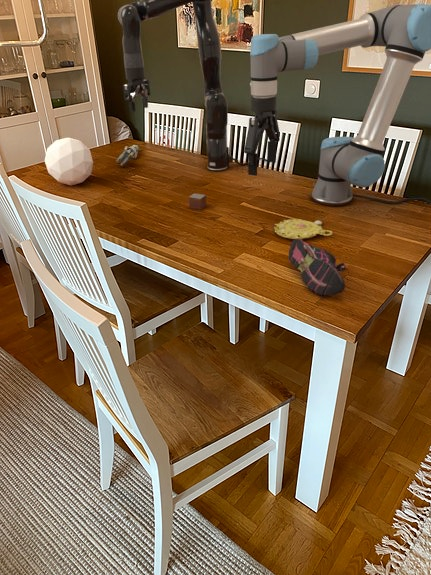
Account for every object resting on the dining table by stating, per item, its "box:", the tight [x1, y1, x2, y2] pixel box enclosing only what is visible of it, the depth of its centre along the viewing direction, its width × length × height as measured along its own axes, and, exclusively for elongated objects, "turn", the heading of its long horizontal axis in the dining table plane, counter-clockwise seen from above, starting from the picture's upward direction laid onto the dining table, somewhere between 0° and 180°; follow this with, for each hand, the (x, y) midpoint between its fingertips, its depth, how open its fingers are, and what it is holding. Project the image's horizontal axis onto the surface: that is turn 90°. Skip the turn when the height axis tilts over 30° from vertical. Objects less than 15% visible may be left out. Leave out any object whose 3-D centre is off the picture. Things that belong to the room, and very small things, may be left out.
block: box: [188, 193, 207, 211], centre depth 166 cm, size 4×5×4 cm
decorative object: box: [273, 218, 333, 241], centre depth 145 cm, size 21×2×20 cm
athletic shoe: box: [288, 239, 349, 296], centre depth 119 cm, size 11×22×12 cm
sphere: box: [44, 137, 94, 187], centre depth 189 cm, size 19×20×20 cm
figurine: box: [115, 144, 140, 167], centre depth 221 cm, size 7×8×30 cm
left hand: (139, 109), depth 181 cm, fingers open, 8 cm apart
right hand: (262, 168), depth 139 cm, fingers open, 13 cm apart
